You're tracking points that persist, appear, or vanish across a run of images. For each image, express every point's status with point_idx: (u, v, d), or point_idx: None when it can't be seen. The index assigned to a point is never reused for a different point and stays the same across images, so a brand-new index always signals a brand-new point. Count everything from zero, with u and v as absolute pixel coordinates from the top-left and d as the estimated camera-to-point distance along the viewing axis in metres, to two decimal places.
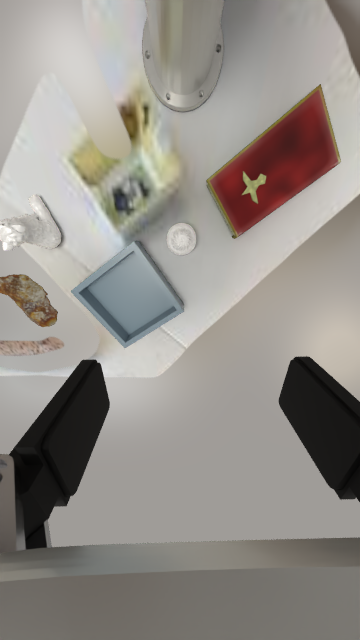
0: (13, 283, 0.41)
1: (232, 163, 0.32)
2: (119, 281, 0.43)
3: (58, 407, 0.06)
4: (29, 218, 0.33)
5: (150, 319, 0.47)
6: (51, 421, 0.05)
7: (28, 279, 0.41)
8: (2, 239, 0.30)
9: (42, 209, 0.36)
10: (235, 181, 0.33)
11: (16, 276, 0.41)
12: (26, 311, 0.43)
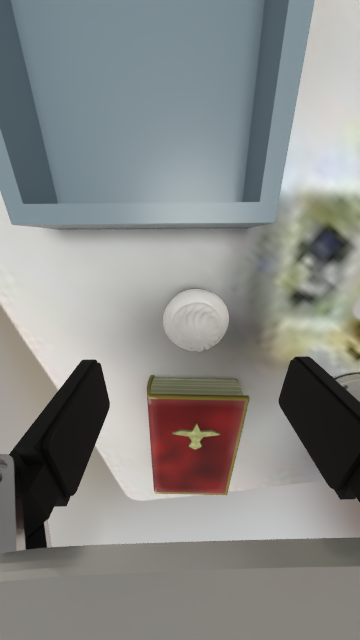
0: None
1: (237, 428, 0.23)
2: (208, 73, 0.12)
3: (58, 407, 0.06)
4: None
5: (34, 77, 0.12)
6: (51, 421, 0.05)
7: None
8: None
9: None
10: (217, 422, 0.22)
11: None
12: None
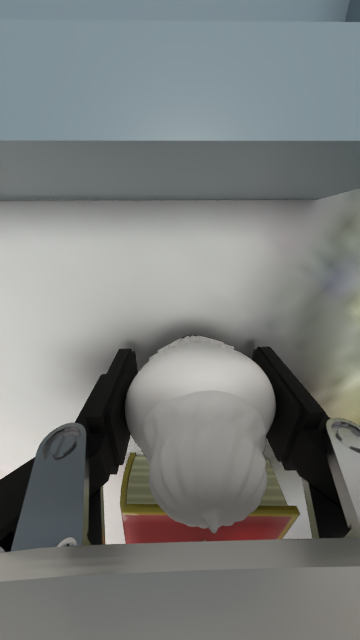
0: None
1: None
2: None
3: (111, 386, 0.07)
4: None
5: None
6: (109, 397, 0.06)
7: None
8: None
9: None
10: (238, 539, 0.13)
11: None
12: None
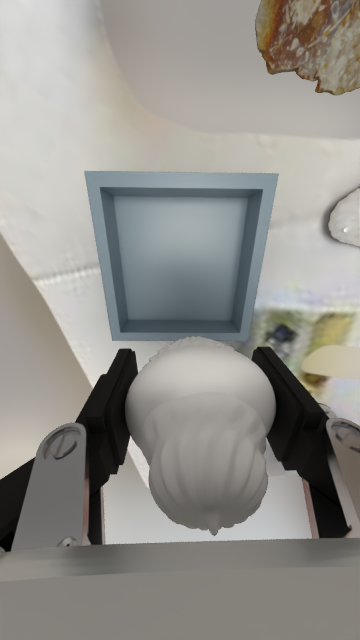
0: None
1: None
2: (215, 264, 0.24)
3: (111, 386, 0.07)
4: None
5: (124, 264, 0.24)
6: (109, 397, 0.06)
7: None
8: None
9: None
10: None
11: None
12: None
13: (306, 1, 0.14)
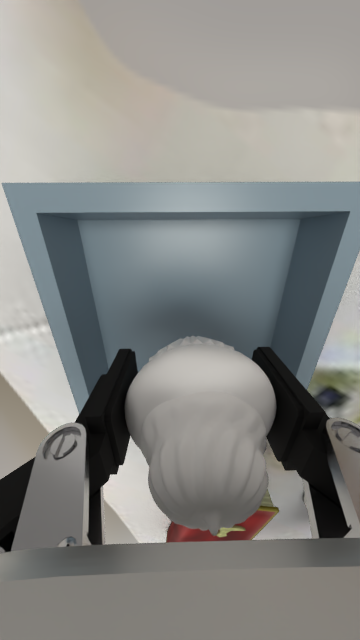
0: None
1: (260, 526, 0.27)
2: (240, 317, 0.16)
3: (111, 386, 0.07)
4: None
5: (102, 319, 0.16)
6: (109, 397, 0.06)
7: None
8: None
9: None
10: (246, 522, 0.27)
11: None
12: None
13: None
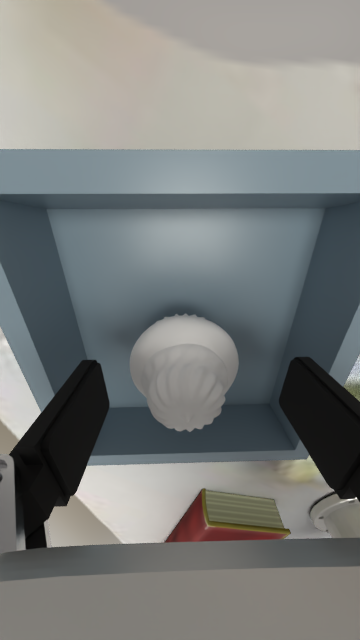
0: None
1: None
2: (248, 327, 0.13)
3: (58, 407, 0.06)
4: None
5: (84, 330, 0.13)
6: (51, 421, 0.05)
7: None
8: None
9: None
10: None
11: None
12: None
13: None
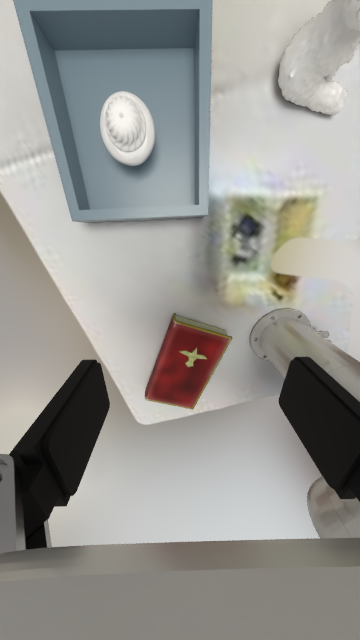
0: None
1: (218, 357, 0.37)
2: (170, 137, 0.24)
3: (58, 407, 0.06)
4: (346, 57, 0.18)
5: (77, 140, 0.23)
6: (51, 422, 0.05)
7: None
8: None
9: (324, 101, 0.22)
10: (208, 350, 0.36)
11: None
12: None
13: None
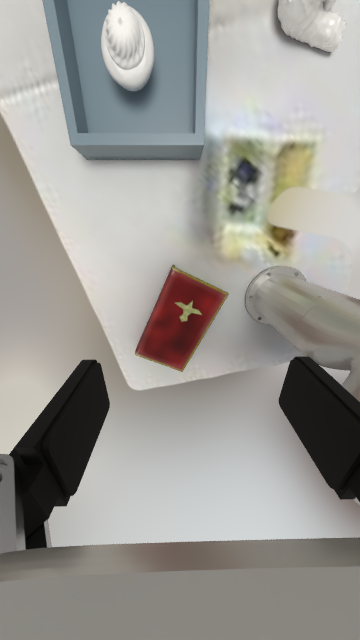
0: None
1: (212, 314, 0.37)
2: (170, 68, 0.24)
3: (58, 407, 0.06)
4: None
5: (80, 68, 0.24)
6: (51, 421, 0.05)
7: None
8: None
9: (323, 32, 0.23)
10: (203, 305, 0.36)
11: None
12: None
13: None
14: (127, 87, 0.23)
